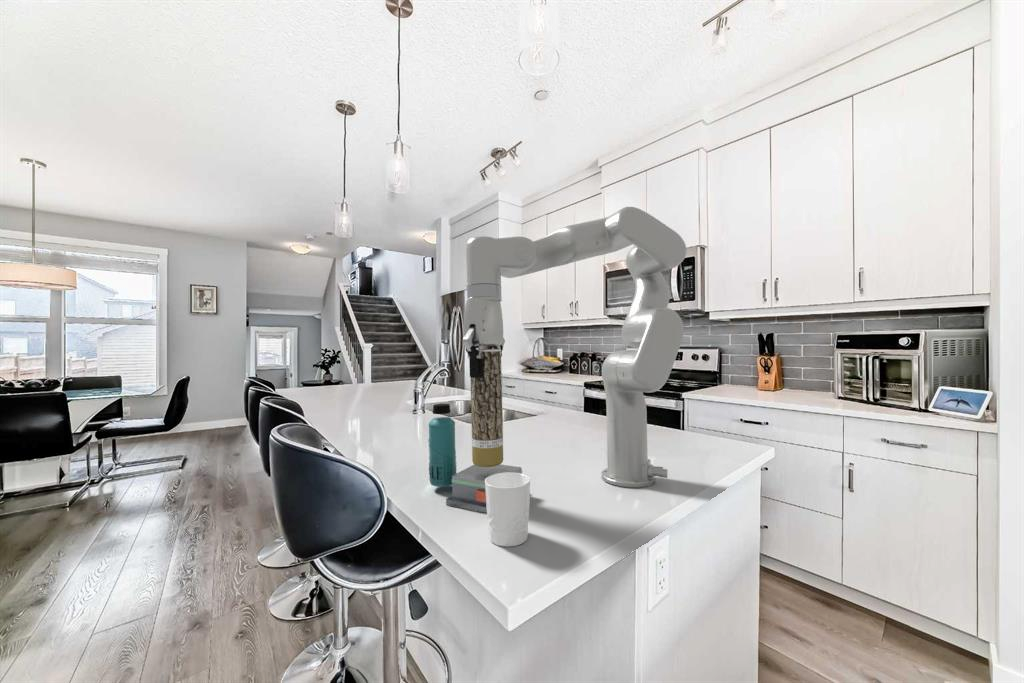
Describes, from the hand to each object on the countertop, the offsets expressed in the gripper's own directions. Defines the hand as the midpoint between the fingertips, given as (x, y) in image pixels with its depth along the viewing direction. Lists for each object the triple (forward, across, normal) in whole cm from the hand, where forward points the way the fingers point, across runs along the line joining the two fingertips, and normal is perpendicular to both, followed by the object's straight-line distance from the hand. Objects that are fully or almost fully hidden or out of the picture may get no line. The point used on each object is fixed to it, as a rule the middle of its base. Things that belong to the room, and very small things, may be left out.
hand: (486, 375), depth 85 cm
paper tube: (+19, 0, 0) cm, 19 cm away
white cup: (+27, +13, +12) cm, 32 cm away
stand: (+27, 0, 0) cm, 27 cm away
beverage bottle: (+27, -1, -13) cm, 30 cm away
